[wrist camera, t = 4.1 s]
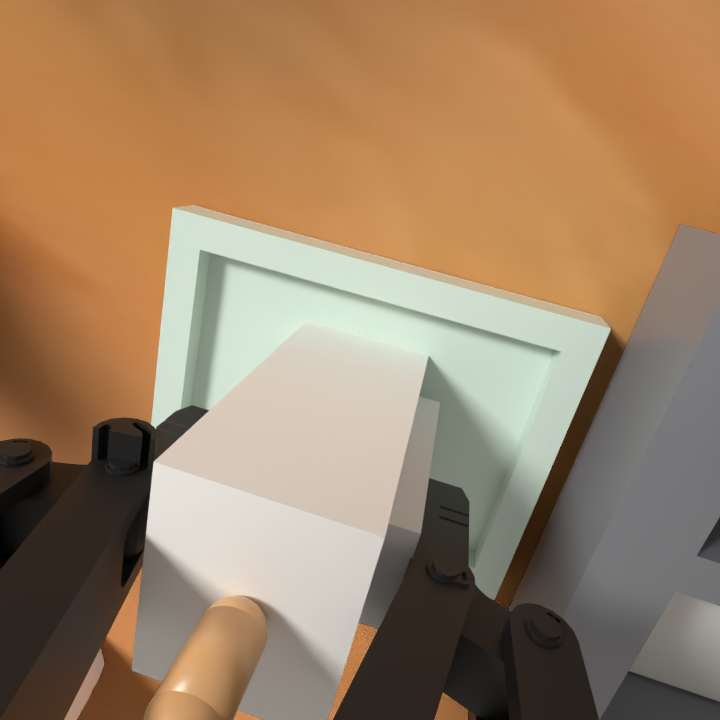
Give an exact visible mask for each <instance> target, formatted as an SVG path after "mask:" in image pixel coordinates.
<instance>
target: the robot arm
mask: <svg viewBox="0 0 720 720" xmlns="http://www.w3.org/2000/svg"><path fill="white" fill-rule="evenodd" d="M439 407H440V402H438V401H434V400H431V399H428V398H424V397H421V396H419V398H418V403H417V407H416V411H415V415H414V419H413V423H412V427H411V432H410V436H409V440H408V444H407V448H406V452H405V456H404V461H403V465H402V469H401V473H400V477H399V481H398V485H397V490H396V494H395V498H394V502H393V506H392V510H391V515H390V519H389V523H388V527H387V531H386V535H385V539H384V542H383V545H382V549H381V552H380V555H379V558H378V561H377V565H376V568H375V571H374V574H373V577H372V581H371V584H370V587H369V590H368V593H367V597H366V600H365V603H364V606H363V609H362V613H361V616H360V619H359V623H362V624H365V625H368V626H371V627H374V628H377V629H378V631H377V633H376V635H375V637H374V639H373V641H372V643H371V645H370V647H369V649H368V651H367V653H366V655H365V657H364V659H363V661H362V663H361V665H360V667H359V669H358V671H357V673H356V675H355V677H354V679H353V681H352V683H351V685H350V687H349V689H348V691H347V693H346V695H345V697H344V699H343V701H342V703H341V705H340V707H339V709H338V711H337V713H336V715H335V717H334V719H333V720H434V719H435V715H436V712H437V709H438V706H439V702H440V699H441V696H442V693H443V692H444V693H445V694H447V695H448V696H449V697H451V698H452V699H454V700H455V701H457V702H458V703H459V704H461V705H462V706H464V707H465V708H466V709H468V720H599V717H598V714H597V710H596V706H595V702H594V698H593V694H592V691H591V687H590V683H589V679H588V675H587V671H586V668H585V664H584V660H583V656H582V652H581V649H580V645H579V641H578V639H577V637H576V635H575V633H574V631H573V629H572V628H571V627H570V626H569V625H568V623H567V622H566V621H565V620H564V619H563V618H561V617H560V616H559V615H557V614H556V613H555V612H553V611H552V610H550V609H548V608H545V607H543V606H541V605H538V604H531V603H524V604H519V605H517V606H516V607H515V608H514V609H513V610H512V611H509V610H507V609H506V608H504V607H502V606H501V605H499V604H497V603H496V602H494V601H493V600H491V599H490V598H489V597H487V596H486V595H485V594H484V593H483V592H482V591H481V590H480V589H479V588H478V587H477V586H476V584H475V577H474V575H473V573H472V571H471V568H470V567H469V504H470V502H469V500H468V498H467V496H466V495H465V493H464V491H463V489H462V488H460V487H456V486H453V485H450V484H447V483H444V482H440V481H437V480H434V479H431V478H429V475H430V468H431V461H432V454H433V448H434V441H435V434H436V427H437V420H438V413H439ZM208 411H209V410H206V409H203V408H200V407H197V406H194V405H191V406H188V407H186V408H183V409H180V410H177V411H175V412H174V413H173V414H171V415H170V416H169V417H168V418H167V419H165V422H164V421H163V422H162V423H160V424H159V425H158V426H157V427H156V429H155V427H154V426H152V425H151V424H149V423H148V422H145V421H142V420H139V419H133V418H115V419H110V420H106V421H103V422H100V423H99V424H98V425H96V426H95V427H93V440H92V458H91V461H90V462H89V464H88V465H76V464H66V463H57V462H52V451H51V449H50V448H49V446H48V445H46V444H44V443H42V442H41V441H36V440H32V439H10V440H5V441H0V720H64V719H65V717H66V715H67V713H68V711H69V709H70V707H71V705H72V703H73V701H74V699H75V697H76V695H77V693H78V691H79V689H80V687H81V685H82V683H83V681H84V679H85V677H86V676H87V674H88V672H89V670H90V668H91V666H92V664H93V662H94V660H95V658H96V656H97V654H98V652H99V650H100V648H101V646H102V644H103V642H104V640H105V638H106V636H107V634H108V632H109V630H110V628H111V626H112V624H113V622H114V620H115V618H116V616H117V614H118V612H119V610H120V608H121V606H122V604H123V603H124V601H125V599H126V597H127V595H128V593H129V591H130V589H131V587H132V585H133V583H134V581H135V579H136V577H137V575H138V573H139V571H140V569H141V567H142V565H143V557H144V548H145V538H146V529H147V519H148V510H149V500H150V491H151V481H152V472H153V462H154V461H155V460H156V459H157V458H158V457H159V456H160V455H162V454H163V453H164V452H165V451H166V450H167V449H168V448H169V447H170V446H171V445H172V444H174V443H175V442H176V441H177V440H178V439H179V438H180V437H181V436H182V435H183V434H184V433H185V432H187V431H188V430H189V429H190V428H191V427H192V426H193V425H194V424H195V423H196V422H197V421H199V420H200V419H201V418H202V417H203V416H204V415H205V414H206V413H207V412H208Z"/></svg>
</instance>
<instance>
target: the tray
mask: <svg viewBox="0 0 720 720" xmlns="http://www.w3.org/2000/svg"><path fill="white" fill-rule="evenodd" d="M307 320H308V321H311V322H315V323H318V324H322V325H325V326H329V327H332V328H335V329H339V330H342V331H346V332H349V333H353V334H356V335H360V336H363V337H366V338H370V339H373V340H377V341H380V342H384V343H387V344H391V345H394V346H397V347H401V348H404V349H408V350H411V351H415V352H418V353H422V354H425V355H428V356H429V357H428V361H427V365H426V369H425V373H424V378H423V382H422V386H421V390H420V394H419V396H421V397H424V398H428V399H431V400H434V401H438V402H440V407H439V413H438V420H437V427H436V434H435V441H434V448H433V454H432V461H431V468H430V475H429V478H431V479H434V480H437V481H440V482H444V483H447V484H450V485H453V486H456V487H460V488H462V489H463V491H464V493H465V495H466V496H467V498H468V500H469V502H470V504H469V567H470V568H471V571H472V573H473V575H474V577H475V584H476V586H477V587H478V588H479V589H480V590H481V591H482V592H483V593H484V594H485V595H486V596H487V597H489V598H490V599H493V600H495V598H496V595H497V593H498V591H499V588H500V586H501V584H502V581H503V579H504V577H505V574H506V572H507V570H508V567H509V565H510V563H511V560H512V558H513V556H514V554H515V551H516V549H517V547H518V544H519V542H520V540H521V537H522V535H523V533H524V530H525V528H526V526H527V523H528V521H529V519H530V516H531V514H532V512H533V509H534V507H535V505H536V502H537V500H538V498H539V495H540V493H541V491H542V488H543V486H544V484H545V481H546V479H547V477H548V474H549V472H550V470H551V467H552V465H553V463H554V460H555V458H556V456H557V454H558V451H559V449H560V447H561V444H562V442H563V440H564V437H565V435H566V433H567V430H568V428H569V426H570V423H571V421H572V419H573V416H574V414H575V412H576V409H577V407H578V405H579V402H580V400H581V398H582V395H583V393H584V391H585V388H586V386H587V384H588V381H589V379H590V377H591V374H592V372H593V370H594V367H595V365H596V363H597V360H598V358H599V356H600V354H601V351H602V349H603V347H604V344H605V342H606V340H607V337H608V335H609V333H610V330H611V328H610V327H609V325H608V324H607V323H606V322H605V321H604V320H603V318H602V317H601V316H597V315H593V314H590V313H586V312H582V311H579V310H575V309H571V308H568V307H564V306H560V305H557V304H553V303H550V302H546V301H542V300H539V299H535V298H531V297H528V296H524V295H520V294H517V293H513V292H509V291H506V290H502V289H498V288H495V287H491V286H487V285H484V284H480V283H476V282H473V281H469V280H465V279H462V278H458V277H455V276H451V275H447V274H444V273H440V272H436V271H433V270H429V269H425V268H422V267H418V266H414V265H411V264H407V263H403V262H400V261H396V260H392V259H389V258H385V257H381V256H378V255H374V254H370V253H367V252H363V251H360V250H356V249H352V248H349V247H345V246H341V245H338V244H334V243H330V242H327V241H323V240H319V239H316V238H312V237H308V236H305V235H301V234H297V233H294V232H290V231H286V230H283V229H279V228H275V227H272V226H268V225H265V224H261V223H257V222H254V221H250V220H246V219H243V218H239V217H235V216H232V215H228V214H224V213H221V212H217V211H213V210H210V209H206V208H202V207H199V206H195V205H191V206H183V207H176V208H173V211H172V221H171V231H170V241H169V251H168V261H167V271H166V281H165V291H164V301H163V311H162V321H161V331H160V341H159V351H158V361H157V371H156V381H155V391H154V401H153V411H152V421H151V425H152V426H154V427H155V429H156V427H157V426H158V425H159V424H160V423H162V422H163V421H164V422H165V419H167V418H168V417H169V416H170V415H171V414H173V413H174V412H175V411H177V410H180V409H183V408H186V407H188V406H191V405H194V406H197V407H200V408H203V409H206V410H211V409H212V408H213V407H214V406H215V405H216V404H217V403H218V402H219V401H220V400H221V399H222V398H224V397H225V396H226V395H227V394H228V393H229V392H230V391H231V390H232V389H233V388H234V387H236V386H237V385H238V384H239V383H240V382H241V381H242V380H243V379H244V378H245V377H246V376H248V375H249V374H250V373H251V372H252V371H253V370H254V369H255V368H256V367H257V366H258V365H260V364H261V363H262V362H263V361H264V360H265V359H266V358H267V357H268V356H269V355H270V354H271V353H273V352H274V351H275V350H276V349H277V348H278V347H279V346H280V345H281V344H282V343H283V342H285V341H286V340H287V339H288V338H289V337H290V336H291V335H292V334H293V333H294V332H295V331H297V330H298V329H299V328H300V327H301V326H302V325H303V324H304V323H305V322H306V321H307Z"/></svg>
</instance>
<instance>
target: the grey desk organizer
mask: <svg viewBox="0 0 720 720" xmlns="http://www.w3.org/2000/svg"><path fill="white" fill-rule="evenodd" d="M524 603H531V604H538V605H541V606H543V607H545V608H548V609H550V610H552V611H553V612H555V613H556V614H557V615H559V616H560V617H561V618H563V619H564V620H565V621H566V622H567V623H568V625H569V626H570V627H571V628H572V629H573V631H574V633H575V635H576V637H577V639H578V641H579V645H580V649H581V652H582V656H583V660H584V664H585V668H586V671H587V675H588V679H589V683H590V687H591V691H592V694H593V698H594V702H595V706H596V710H597V714H598V717H599V720H720V234H717V233H714V232H710V231H706V230H702V229H698V228H694V227H690V226H686V225H682V224H680V226H679V229H678V231H677V233H676V235H675V237H674V240H673V242H672V244H671V246H670V249H669V251H668V253H667V255H666V258H665V260H664V262H663V264H662V267H661V269H660V271H659V273H658V276H657V278H656V280H655V282H654V284H653V287H652V289H651V291H650V293H649V296H648V298H647V300H646V302H645V305H644V307H643V309H642V311H641V314H640V316H639V318H638V320H637V323H636V325H635V327H634V329H633V332H632V334H631V336H630V338H629V340H628V343H627V345H626V347H625V349H624V352H623V354H622V356H621V358H620V361H619V363H618V365H617V367H616V370H615V372H614V374H613V376H612V379H611V381H610V383H609V385H608V387H607V390H606V392H605V394H604V396H603V399H602V401H601V403H600V405H599V408H598V410H597V412H596V414H595V417H594V419H593V421H592V423H591V426H590V428H589V430H588V432H587V435H586V437H585V439H584V441H583V443H582V446H581V448H580V450H579V452H578V455H577V457H576V459H575V461H574V464H573V466H572V468H571V470H570V473H569V475H568V477H567V479H566V482H565V484H564V486H563V488H562V491H561V493H560V495H559V497H558V499H557V502H556V504H555V506H554V508H553V511H552V513H551V515H550V517H549V520H548V522H547V524H546V526H545V529H544V531H543V533H542V535H541V538H540V540H539V542H538V544H537V546H536V549H535V551H534V553H533V555H532V558H531V560H530V562H529V564H528V567H527V569H526V571H525V573H524V576H523V578H522V580H521V582H520V585H519V587H518V589H517V591H516V594H515V596H514V598H513V600H512V602H511V605H510V607H509V609H508V610H509V611H512V610H513V609H514V608H515V607H516V606H517V605H519V604H524Z"/></svg>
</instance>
